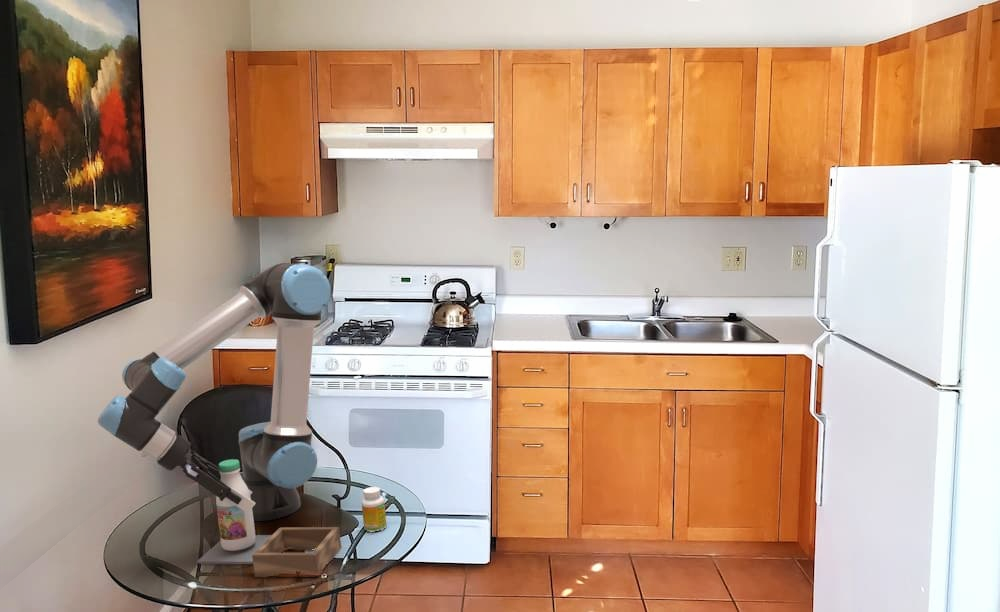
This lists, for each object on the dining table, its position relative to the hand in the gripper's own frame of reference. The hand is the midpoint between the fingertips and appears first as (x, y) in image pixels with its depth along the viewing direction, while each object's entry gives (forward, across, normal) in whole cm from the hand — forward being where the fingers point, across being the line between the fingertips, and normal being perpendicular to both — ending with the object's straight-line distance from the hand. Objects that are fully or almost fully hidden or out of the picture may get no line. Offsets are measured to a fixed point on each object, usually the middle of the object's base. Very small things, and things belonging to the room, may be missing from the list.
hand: (249, 502), depth 196 cm
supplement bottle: (+28, +4, +12) cm, 30 cm away
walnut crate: (+14, +14, -2) cm, 19 cm away
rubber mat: (+5, 0, -10) cm, 12 cm away
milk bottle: (+4, 0, -9) cm, 10 cm away
